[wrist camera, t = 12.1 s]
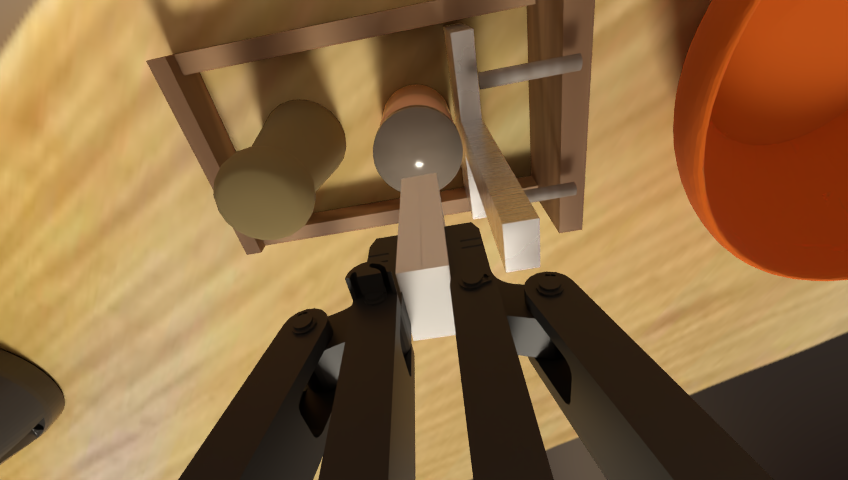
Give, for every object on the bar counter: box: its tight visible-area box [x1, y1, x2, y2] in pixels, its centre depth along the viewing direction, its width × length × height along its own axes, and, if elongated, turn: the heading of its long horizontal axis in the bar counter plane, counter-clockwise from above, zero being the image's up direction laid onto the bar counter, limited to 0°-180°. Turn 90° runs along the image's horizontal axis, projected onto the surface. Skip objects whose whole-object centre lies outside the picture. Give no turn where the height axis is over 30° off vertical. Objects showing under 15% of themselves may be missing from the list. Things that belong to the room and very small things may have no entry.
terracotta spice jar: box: [373, 84, 463, 192], centre depth 25 cm, size 5×5×7 cm
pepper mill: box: [213, 100, 346, 240], centre depth 24 cm, size 6×6×11 cm
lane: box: [146, 0, 595, 255], centre depth 25 cm, size 25×14×8 cm, turn 100°
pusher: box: [443, 23, 540, 272], centre depth 20 cm, size 1×11×18 cm, turn 10°
